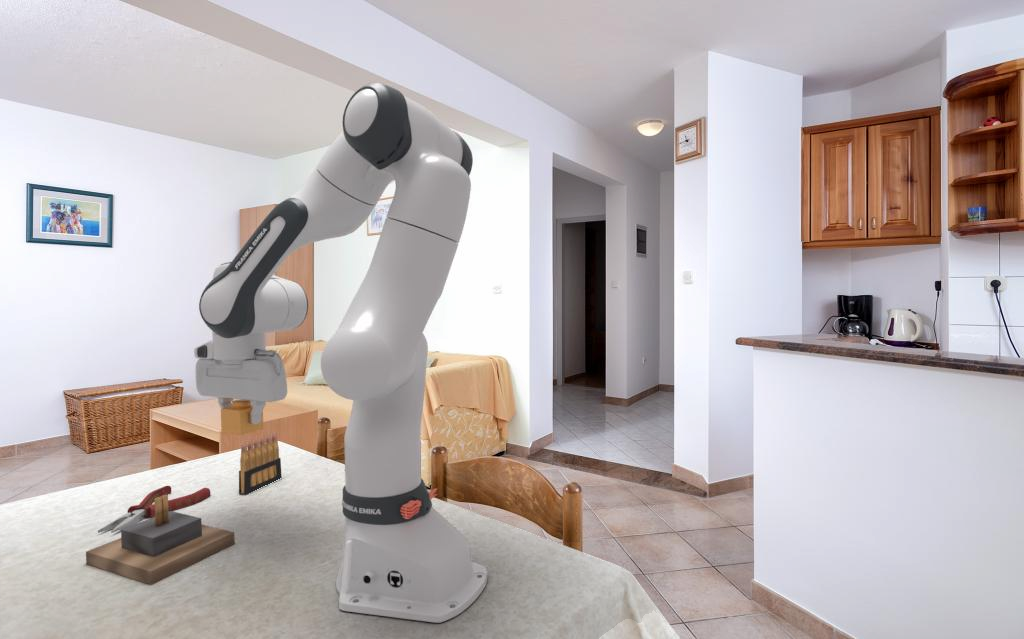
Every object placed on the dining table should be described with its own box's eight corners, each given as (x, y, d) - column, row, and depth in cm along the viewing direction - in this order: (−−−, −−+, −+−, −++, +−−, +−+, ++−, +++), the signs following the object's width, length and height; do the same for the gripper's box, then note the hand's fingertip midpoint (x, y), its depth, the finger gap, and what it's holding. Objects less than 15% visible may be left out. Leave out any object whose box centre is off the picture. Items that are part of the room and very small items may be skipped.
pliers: (77, 536, 94) (76, 522, 94) (166, 495, 114) (165, 483, 114) (133, 540, 92) (132, 526, 92) (213, 497, 112) (213, 485, 112)
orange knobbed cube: (263, 429, 99) (262, 399, 99) (240, 435, 95) (239, 404, 95) (244, 426, 101) (243, 397, 101) (221, 432, 97) (220, 402, 97)
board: (234, 543, 90) (232, 489, 89) (150, 584, 77) (148, 521, 77) (173, 528, 96) (171, 477, 96) (86, 563, 83) (83, 505, 83)
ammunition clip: (245, 495, 112) (243, 440, 112) (238, 494, 113) (236, 439, 112) (281, 479, 122) (280, 428, 122) (275, 478, 123) (274, 427, 122)
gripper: (294, 348, 96) (296, 422, 97) (218, 345, 104) (220, 414, 105) (266, 352, 90) (268, 430, 91) (187, 348, 99) (190, 421, 99)
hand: (242, 421), depth 98 cm, fingers closed on orange knobbed cube, 5 cm apart
